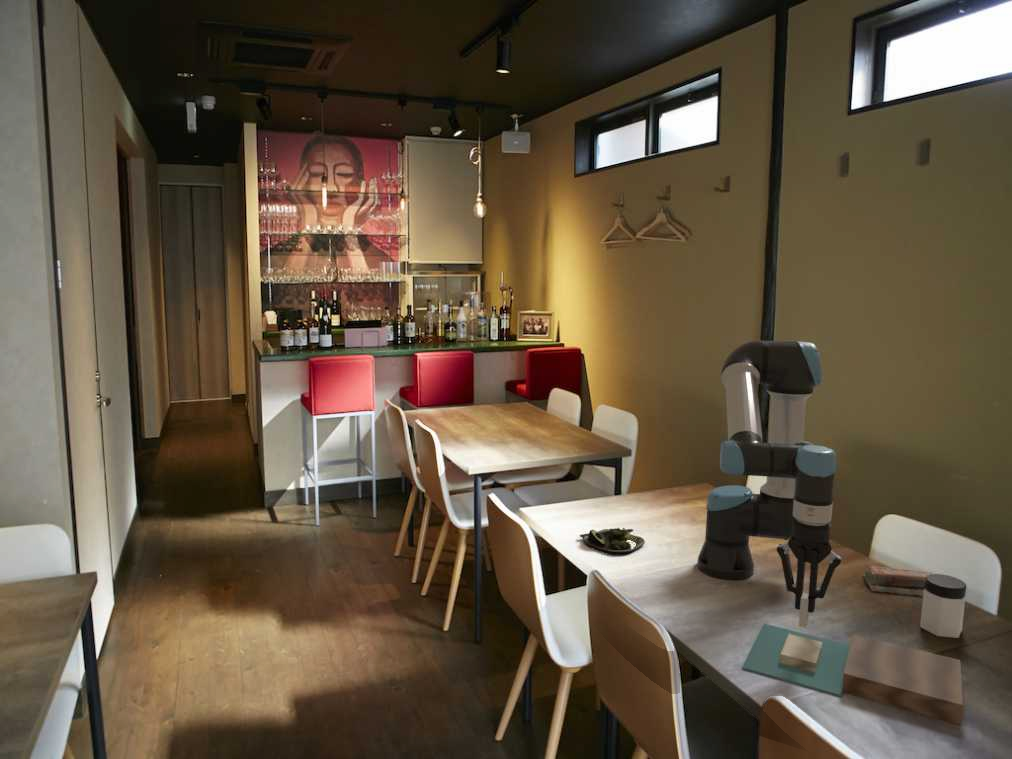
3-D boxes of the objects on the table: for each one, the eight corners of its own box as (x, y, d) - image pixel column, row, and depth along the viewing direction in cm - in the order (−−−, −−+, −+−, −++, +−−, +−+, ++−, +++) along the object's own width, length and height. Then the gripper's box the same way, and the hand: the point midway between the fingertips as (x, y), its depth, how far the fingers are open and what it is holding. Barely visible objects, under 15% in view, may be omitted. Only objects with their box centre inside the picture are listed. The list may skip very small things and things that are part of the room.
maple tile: (816, 663, 147) (815, 672, 148) (822, 642, 156) (821, 650, 156) (780, 654, 151) (779, 662, 151) (788, 633, 159) (788, 642, 160)
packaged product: (873, 575, 186) (863, 560, 195) (871, 593, 187) (861, 577, 196) (949, 582, 182) (935, 567, 191) (947, 600, 183) (934, 584, 192)
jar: (924, 616, 173) (929, 570, 171) (963, 627, 168) (969, 579, 166) (917, 630, 166) (921, 582, 164) (957, 642, 161) (963, 592, 159)
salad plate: (611, 528, 232) (612, 514, 232) (657, 543, 220) (658, 528, 219) (572, 543, 219) (573, 528, 219) (619, 560, 206) (619, 545, 206)
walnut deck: (842, 691, 142) (843, 673, 141) (851, 651, 157) (852, 634, 156) (960, 724, 131) (962, 705, 131) (958, 678, 147) (960, 660, 146)
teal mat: (742, 668, 150) (742, 667, 150) (763, 625, 168) (763, 623, 168) (840, 696, 140) (841, 694, 140) (852, 647, 159) (852, 645, 158)
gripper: (775, 519, 149) (768, 623, 153) (843, 531, 143) (834, 640, 146) (782, 509, 156) (775, 609, 159) (847, 520, 149) (838, 624, 153)
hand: (803, 624), depth 153 cm, fingers closed
